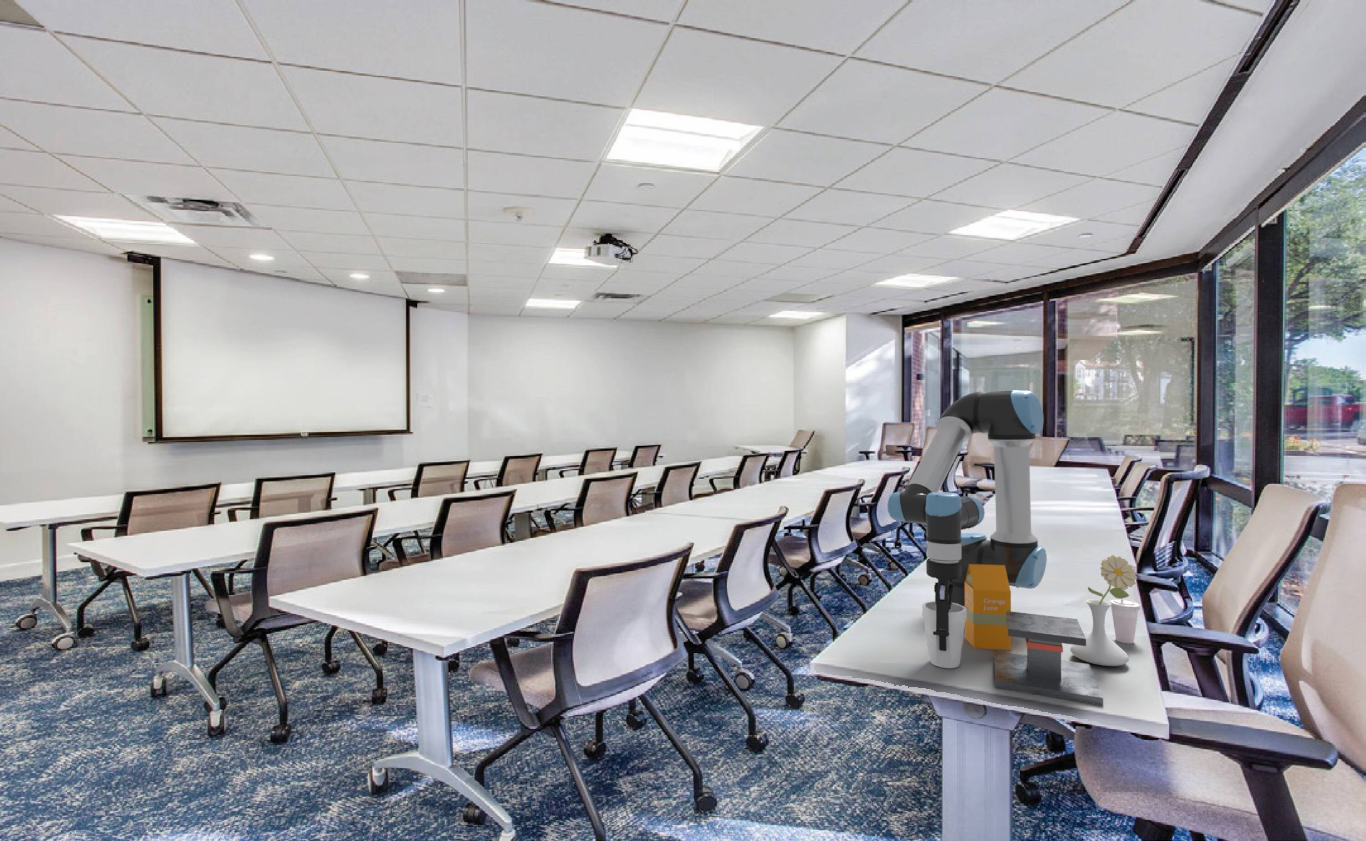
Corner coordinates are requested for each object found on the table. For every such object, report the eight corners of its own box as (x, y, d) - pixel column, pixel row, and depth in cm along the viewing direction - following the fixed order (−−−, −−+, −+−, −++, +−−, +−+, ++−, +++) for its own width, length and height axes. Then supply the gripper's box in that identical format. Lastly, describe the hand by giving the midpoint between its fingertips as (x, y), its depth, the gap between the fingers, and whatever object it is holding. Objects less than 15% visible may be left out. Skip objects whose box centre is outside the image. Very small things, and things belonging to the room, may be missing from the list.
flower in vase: (1076, 666, 141) (1076, 557, 141) (1065, 649, 152) (1064, 548, 152) (1145, 674, 137) (1144, 561, 137) (1128, 656, 147) (1127, 551, 147)
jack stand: (994, 656, 147) (994, 606, 147) (1089, 670, 139) (1088, 617, 139) (995, 687, 130) (995, 630, 130) (1103, 705, 122) (1102, 644, 122)
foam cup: (955, 654, 148) (954, 600, 148) (974, 670, 139) (974, 612, 139) (916, 655, 148) (915, 601, 148) (933, 671, 139) (932, 613, 139)
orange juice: (1011, 649, 152) (1011, 568, 152) (973, 647, 153) (973, 567, 153) (1000, 638, 160) (1000, 561, 160) (964, 637, 161) (963, 560, 161)
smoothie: (1112, 634, 162) (1112, 581, 162) (1142, 640, 158) (1142, 585, 158) (1107, 640, 158) (1106, 585, 158) (1137, 647, 153) (1137, 590, 153)
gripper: (930, 549, 155) (930, 638, 155) (921, 568, 135) (922, 670, 135) (963, 551, 152) (963, 642, 152) (959, 571, 132) (960, 676, 132)
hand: (944, 655), depth 143 cm, fingers closed on foam cup, 9 cm apart
